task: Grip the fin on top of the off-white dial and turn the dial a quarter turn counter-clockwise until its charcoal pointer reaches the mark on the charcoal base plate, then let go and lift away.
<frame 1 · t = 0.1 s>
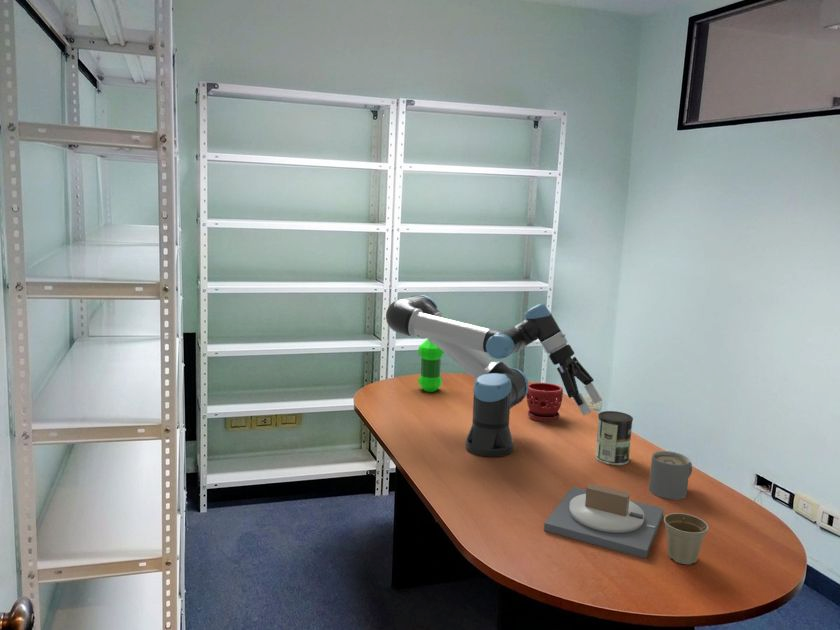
hand: (593, 407, 206), 15 cm above the table, tool tilted 35°, fingers open, 13 cm apart
flower pot: (681, 558, 149), on the table
plastic bottle: (429, 390, 272), on the table
plant pot: (542, 418, 242), on the table
coffee can: (611, 459, 205), on the table
base plate: (605, 522, 164), on the table
coffee mug: (672, 491, 184), on the table
dial: (607, 502, 163), point 5 cm above the table, hinge at 0.0°
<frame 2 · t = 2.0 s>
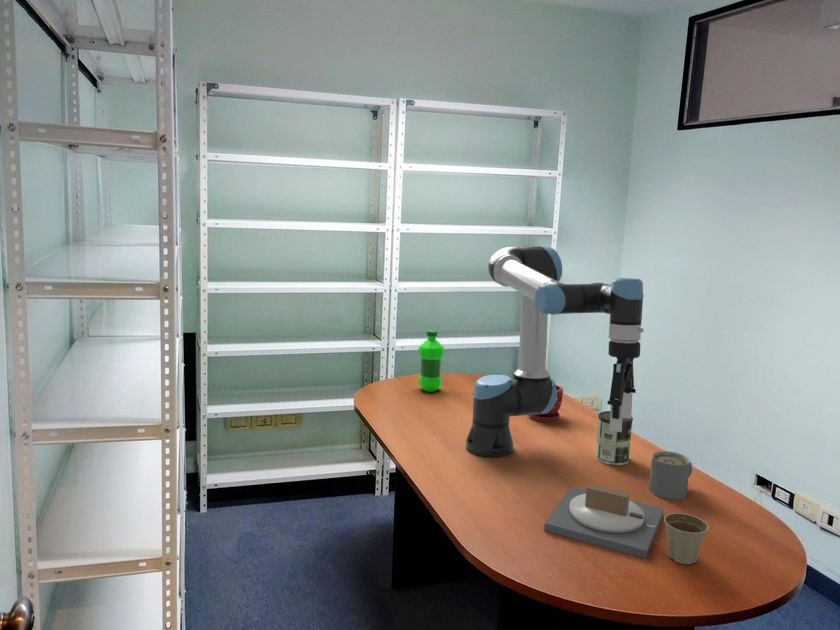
hand: (620, 424, 165), 24 cm above the table, tool pointing down, fingers open, 13 cm apart
nothing on the table moved.
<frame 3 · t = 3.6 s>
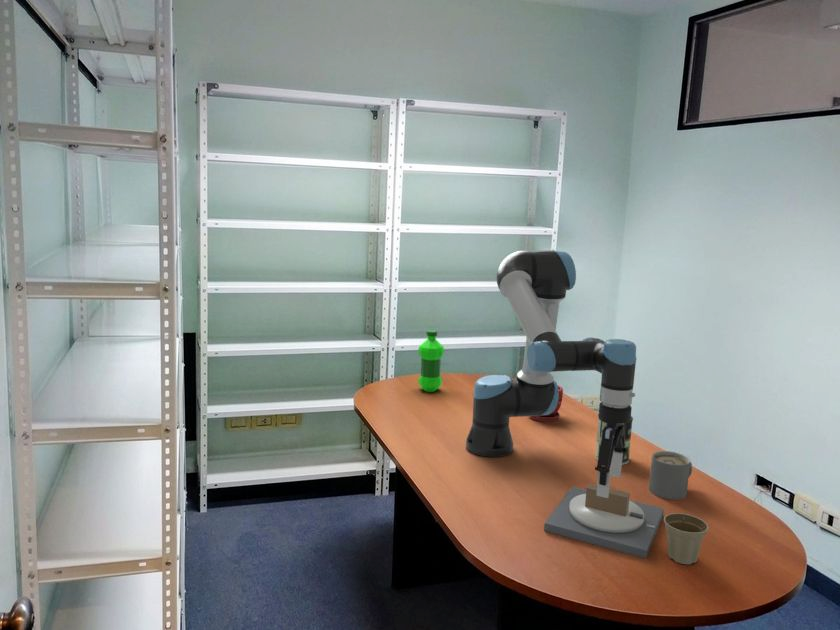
hand: (608, 486, 162), 10 cm above the table, tool pointing down, fingers open, 13 cm apart
nothing on the table moved.
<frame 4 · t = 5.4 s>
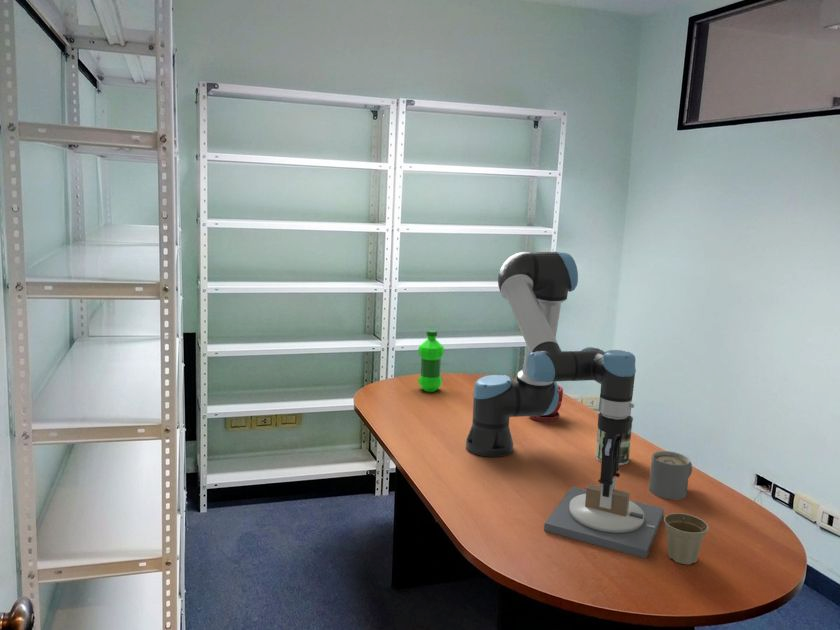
hand: (606, 504, 163), 5 cm above the table, tool pointing down, fingers closed on dial, 3 cm apart
dial: (607, 502, 163), point 5 cm above the table, hinge at 0.8°, touching gripper
everything else where it was.
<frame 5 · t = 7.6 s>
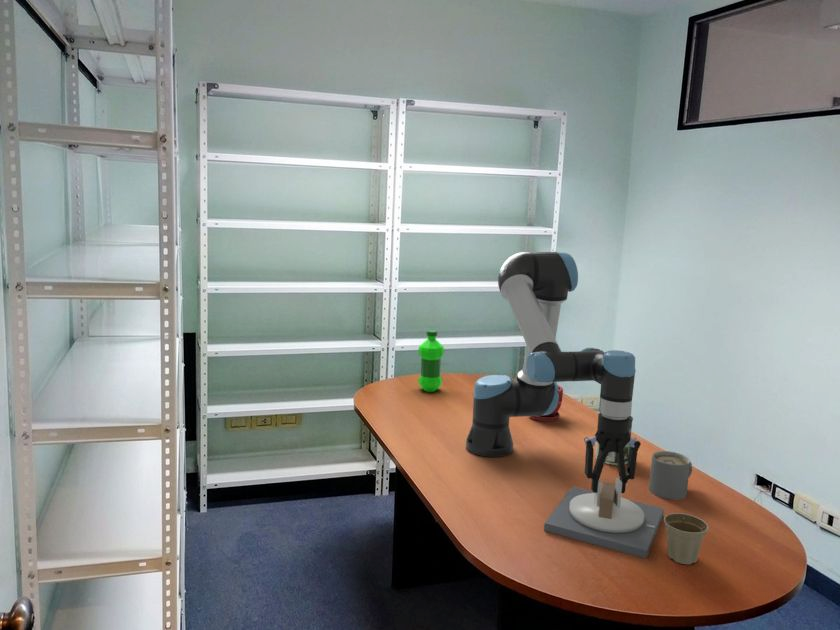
hand: (606, 504, 163), 5 cm above the table, tool pointing down, fingers closed on dial, 4 cm apart
dial: (607, 502, 163), point 5 cm above the table, hinge at 99.0°, touching gripper
everything else where it was.
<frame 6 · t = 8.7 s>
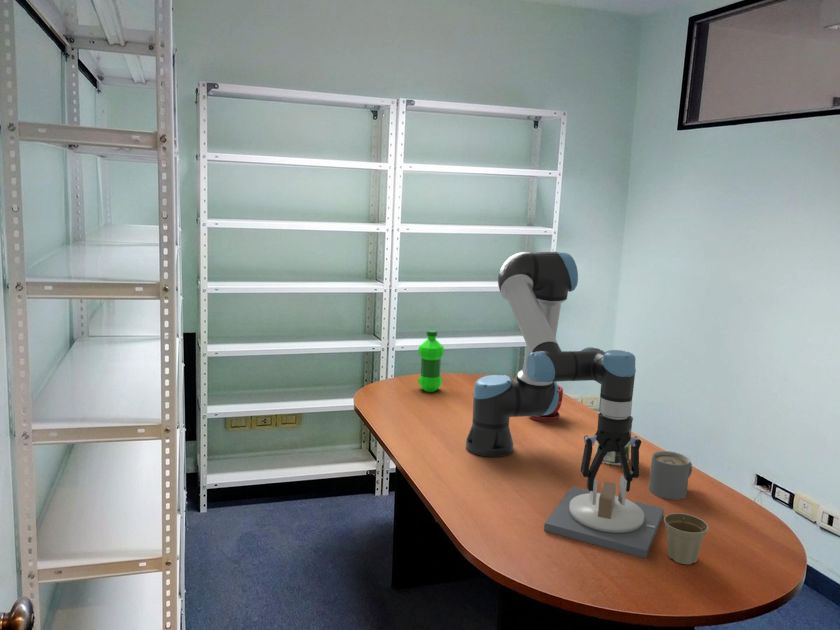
hand: (606, 502, 163), 5 cm above the table, tool pointing down, fingers open, 7 cm apart
dial: (607, 502, 163), point 5 cm above the table, hinge at 96.9°
everything else where it was.
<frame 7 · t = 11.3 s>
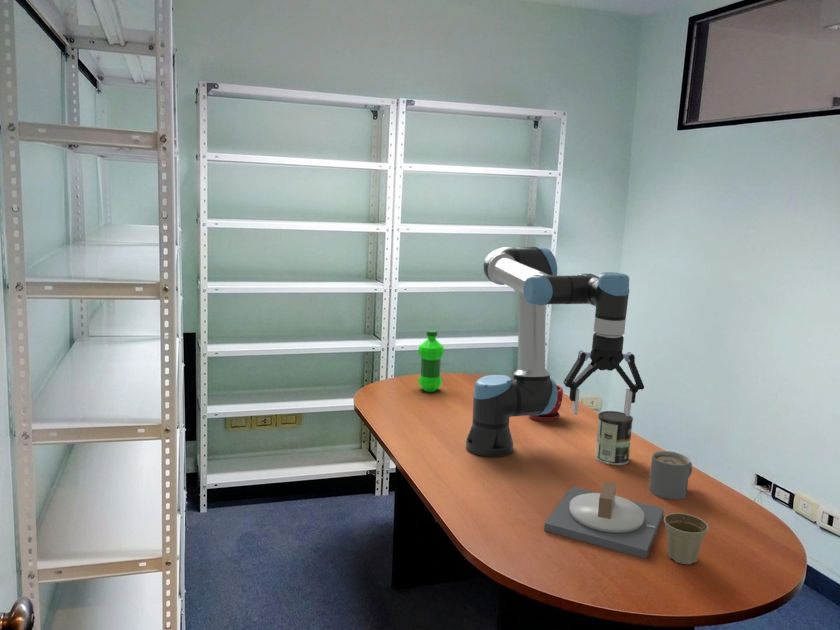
hand: (600, 413, 170), 25 cm above the table, tool pointing down, fingers open, 13 cm apart
nothing on the table moved.
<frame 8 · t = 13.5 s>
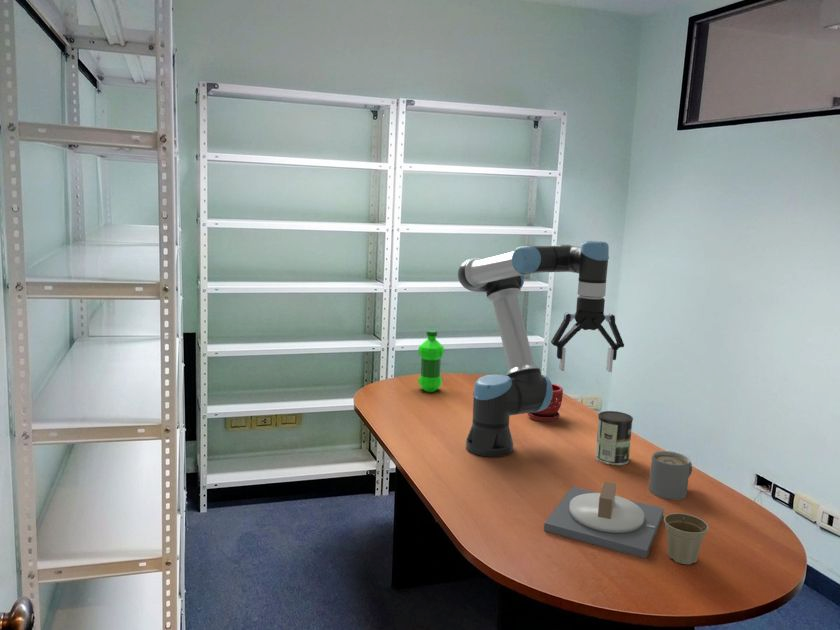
hand: (585, 370, 187), 32 cm above the table, tool pointing down, fingers open, 13 cm apart
nothing on the table moved.
at the end: dial at +97° (first picture: +0°); flower pot moved 0.2 cm from its start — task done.
